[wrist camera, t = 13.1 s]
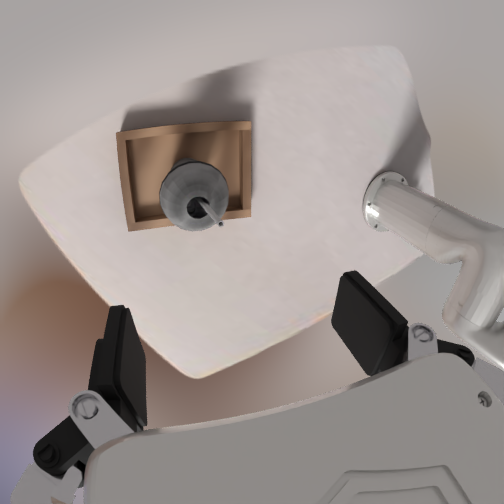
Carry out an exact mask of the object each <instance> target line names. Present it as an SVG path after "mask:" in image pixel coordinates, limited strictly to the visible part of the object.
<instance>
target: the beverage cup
mask: <svg viewBox="0 0 504 504" xmlns="http://www.w3.org/2000/svg"><path fill="white" fill-rule="evenodd" d="M228 198H229V188H228V185H227V182H226V179H225V177H224V176H223V174H222V173H221V172H220V170H218V169H217V168H216V167H214V166H213V165H211V164H209V163H205V162H202V161H197V160H196V159H192V158H183V159H180V160H178V161H177V162H176V163H175V164H174V165H173V167H172V168H171V170H170V172H168V174H167V175H166V177H165V178H164V180H163V181H162V184H161V188H160V191H159V200H160V205H161V208H162V210H163V213H164V214H165V215H166V217H167V218H168V219H169V220H170V221H171V222H172V223H173V224H174V225H176V226H177V227H179V228H181V229H184V230H188V231H202V230H205V229H207V228H210V227H212V226H213V225H214V224H217V225H218V226H219V227H222V226H224V222H223V221H222V220H221V217H222V216H223V215H224V213H225V211H226V208H227V206H228Z"/></svg>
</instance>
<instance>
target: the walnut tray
mask: <svg viewBox="0 0 504 504" xmlns="http://www.w3.org/2000/svg"><path fill="white" fill-rule="evenodd" d="M116 139H117V151H118V162H119V171H120V179H121V187H122V194H123V201H124V208H125V214H126V220H127V226H128V231H129V232H130V231H137V230H144V229H151V228H159V227H167V226H174V224H173V223H172V222H171V221H170V220H169V219H168V218H167V217H166V215H165V214H164V213H163V210H162V208H161V205H160V200H159V191H160V188H161V184H162V181H163V180H164V178H165V177H166V175H167V174H168V172H170V170H171V168H172V167H173V165H174V164H175V163H176V162H177V161H178V160H180V159H183V158H192V159H196V160H197V161H202V162H205V163H209V164H211V165H213V166H214V167H216V168H217V169H218V170H220V172H221V173H222V174H223V176H224V177H225V179H226V182H227V185H228V188H229V198H228V206H227V208H226V211H225V213H224V215H223V216H222V217H221V220H226V219H235V218H245V217H251V121H222V122H202V123H188V124H176V125H166V126H157V127H149V128H142V129H135V130H128V131H122V132H118V133H116Z"/></svg>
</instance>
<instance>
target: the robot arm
mask: <svg viewBox="0 0 504 504" xmlns="http://www.w3.org/2000/svg"><path fill="white" fill-rule="evenodd" d="M363 213H364V218H365V220H366V222H367V224H368V225H369V226H370V227H371V228H373V229H374V230H376V231H379V232H386V231H389V230H390V231H391V232H393V233H394V234H396V235H397V236H399V237H401V238H402V239H404V240H405V241H407V242H408V243H410V244H411V245H413V246H414V247H415V248H417V249H418V250H420V251H421V252H423V253H424V254H426V255H427V256H428V257H430V258H432V259H433V260H434V261H436V262H438V263H441V264H453V263H457V262H460V261H462V266H461V269H460V272H459V275H458V277H457V279H456V281H455V283H454V286H453V288H452V290H451V292H450V294H449V296H448V298H447V300H446V302H445V304H444V307H443V310H442V319H443V322H444V324H445V325H446V327H447V328H448V329H449V330H450V331H451V332H452V333H453V334H454V335H455V336H457V337H458V338H459V339H461V340H462V341H464V342H465V343H466V344H468V345H469V346H470V347H472V348H473V349H474V350H476V351H477V352H478V353H480V354H481V355H483V356H484V357H485V358H487V359H488V360H489V361H491V362H492V363H493V364H495V365H496V366H497V367H499V368H500V369H499V368H497V367H495V366H493V365H491V364H489V363H487V362H485V361H483V360H481V359H479V358H476V360H475V358H474V355H473V353H472V352H471V350H470V349H468V348H467V347H465V346H463V345H459V344H454V343H450V342H446V341H442V340H439V339H437V337H436V333H435V332H434V330H433V329H432V328H431V327H429V326H428V325H426V324H422V323H415V324H412V325H411V326H410V327H408V326H407V323H408V321H407V320H406V319H405V318H404V317H403V316H402V315H401V314H400V313H399V312H398V311H397V310H396V309H395V308H394V307H393V306H392V305H391V304H390V303H389V302H388V301H387V300H386V299H385V298H384V297H383V296H382V295H381V294H380V293H379V292H378V291H377V290H376V289H375V288H374V287H373V286H372V285H371V284H370V283H369V282H368V281H367V280H366V279H365V278H364V277H363V276H362V275H361V274H360V273H358V272H357V271H350V272H345V273H344V274H343V276H341V278H340V282H339V287H338V292H337V296H336V301H335V306H334V310H333V315H332V319H331V323H332V326H333V328H334V329H335V330H336V332H337V333H338V335H339V336H340V337H341V339H342V340H343V342H344V343H345V345H346V346H347V347H348V349H349V350H350V351H351V353H352V354H353V356H354V357H355V359H356V360H357V361H358V363H359V364H360V366H361V367H362V369H363V370H364V371H365V373H366V374H367V375H370V376H371V377H368V378H366V379H363V380H361V381H358V382H356V383H353V384H350V385H347V386H345V387H342V388H339V389H336V390H333V391H330V392H327V393H324V394H321V395H318V396H315V397H312V398H308V399H305V400H302V401H298V402H295V403H291V404H287V405H284V406H280V407H276V408H272V409H268V410H264V411H260V412H255V413H251V414H246V415H241V416H236V417H231V418H226V419H220V420H214V421H208V422H202V423H196V424H188V425H181V426H172V427H165V428H158V429H149V430H145V431H143V426H147V410H146V409H147V408H146V359H145V353H144V350H143V348H142V345H141V342H140V339H139V336H138V333H137V331H136V328H135V325H134V322H133V318H132V315H131V312H130V309H129V308H125V307H124V305H118V306H111V307H110V309H109V314H108V319H107V324H106V328H105V334H104V338H103V339H98V340H97V342H96V345H95V351H94V356H93V361H92V367H91V373H90V379H89V386H88V390H86V391H81V392H79V393H77V394H76V395H74V396H73V398H72V399H71V400H70V402H69V406H68V410H69V414H70V416H68V417H67V418H66V419H65V420H64V421H62V422H61V423H60V424H59V425H57V426H56V427H55V428H54V429H53V430H51V431H50V432H49V433H48V434H47V435H45V436H44V437H43V438H42V439H40V440H39V441H38V442H37V443H36V445H35V447H34V450H33V457H34V460H35V461H34V463H33V464H32V465H31V464H29V465H28V466H27V468H26V470H25V472H24V473H23V475H22V476H21V478H20V480H19V482H18V483H17V485H16V487H15V489H14V490H13V492H12V494H11V498H10V499H11V504H72V503H73V500H74V499H75V497H76V496H75V495H74V493H75V491H76V489H77V488H80V487H83V486H84V491H83V493H84V495H83V497H84V504H504V321H503V322H496V320H497V318H498V316H499V315H500V313H501V311H502V309H503V307H504V228H502V227H499V226H497V225H494V224H491V223H488V222H486V221H483V220H481V219H478V218H476V217H474V216H472V215H470V214H467V213H465V212H463V211H461V210H459V209H457V208H455V207H453V206H451V205H449V204H447V203H445V202H443V201H441V200H439V199H437V198H435V197H433V196H430V195H428V194H426V193H424V192H422V191H419V190H417V189H415V188H413V187H410V186H409V185H408V183H407V181H406V179H405V178H404V177H403V176H402V175H401V174H399V173H396V172H392V171H388V172H384V173H382V174H380V175H379V176H377V177H376V178H375V179H374V180H373V181H372V183H371V184H370V186H369V187H368V189H367V192H366V194H365V197H364V203H363ZM501 369H502V370H501Z"/></svg>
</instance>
